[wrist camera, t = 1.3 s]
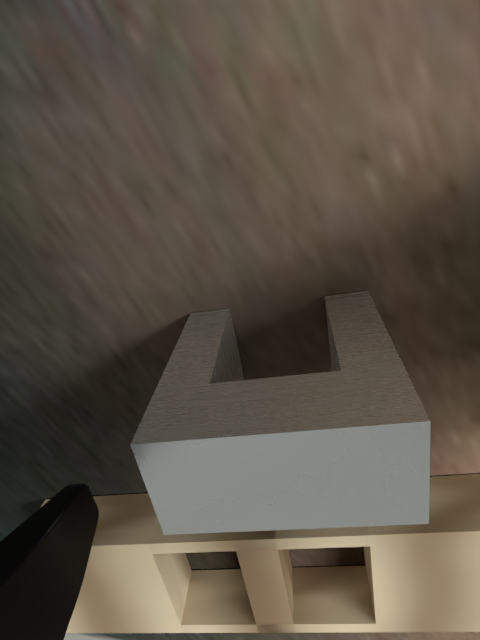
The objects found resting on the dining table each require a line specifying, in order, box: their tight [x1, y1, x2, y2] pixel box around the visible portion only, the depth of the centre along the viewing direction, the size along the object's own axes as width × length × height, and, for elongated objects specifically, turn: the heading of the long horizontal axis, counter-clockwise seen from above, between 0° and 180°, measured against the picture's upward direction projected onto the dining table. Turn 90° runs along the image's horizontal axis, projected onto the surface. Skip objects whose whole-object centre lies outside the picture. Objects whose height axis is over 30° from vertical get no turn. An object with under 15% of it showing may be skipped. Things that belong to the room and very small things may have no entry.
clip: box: [130, 291, 431, 535], centre depth 12 cm, size 6×3×6 cm, turn 100°
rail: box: [40, 474, 480, 633], centre depth 18 cm, size 20×6×2 cm, turn 100°
